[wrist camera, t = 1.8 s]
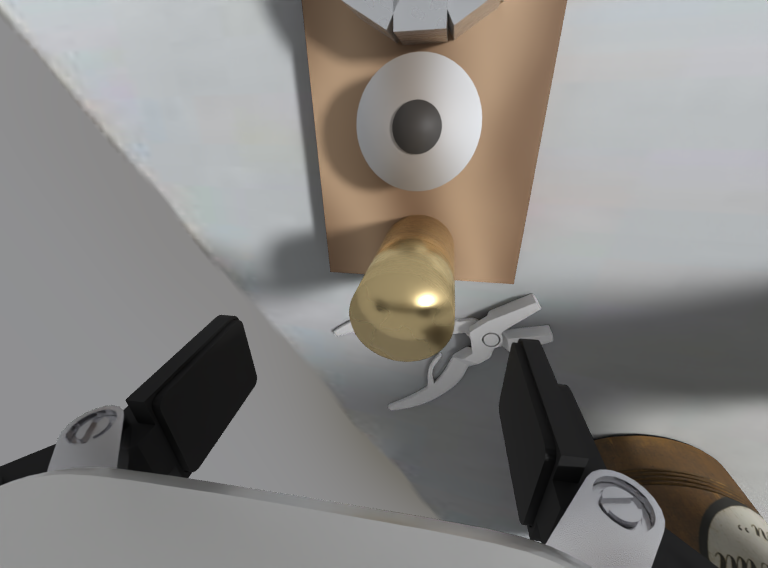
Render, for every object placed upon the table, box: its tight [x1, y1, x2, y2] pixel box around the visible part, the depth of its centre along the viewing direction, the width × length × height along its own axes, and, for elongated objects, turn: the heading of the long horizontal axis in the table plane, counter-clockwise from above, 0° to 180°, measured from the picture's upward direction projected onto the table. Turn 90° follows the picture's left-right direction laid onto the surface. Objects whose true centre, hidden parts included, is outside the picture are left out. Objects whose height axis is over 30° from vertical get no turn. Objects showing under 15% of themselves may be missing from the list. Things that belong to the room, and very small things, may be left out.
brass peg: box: [349, 215, 455, 362], centre depth 17 cm, size 4×4×8 cm
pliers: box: [334, 293, 553, 411], centre depth 25 cm, size 10×2×15 cm
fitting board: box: [302, 0, 567, 284], centre depth 15 cm, size 12×22×5 cm, turn 1°
